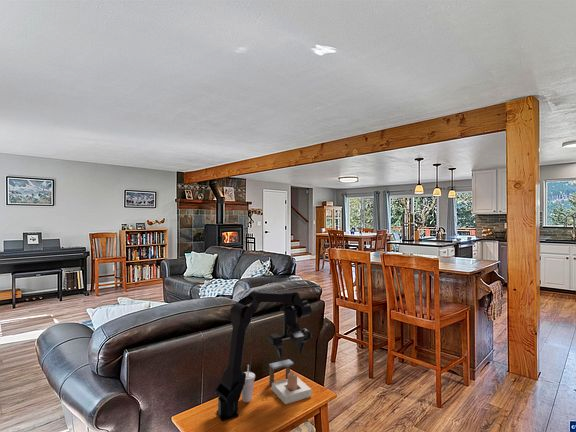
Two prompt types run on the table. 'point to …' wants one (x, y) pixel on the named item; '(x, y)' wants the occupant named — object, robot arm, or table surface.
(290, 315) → the robot arm
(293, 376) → the peg
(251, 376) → the smoothie
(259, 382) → the table surface
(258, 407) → the table surface
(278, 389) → the socket board
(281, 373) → the table surface
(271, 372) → the grey arch
